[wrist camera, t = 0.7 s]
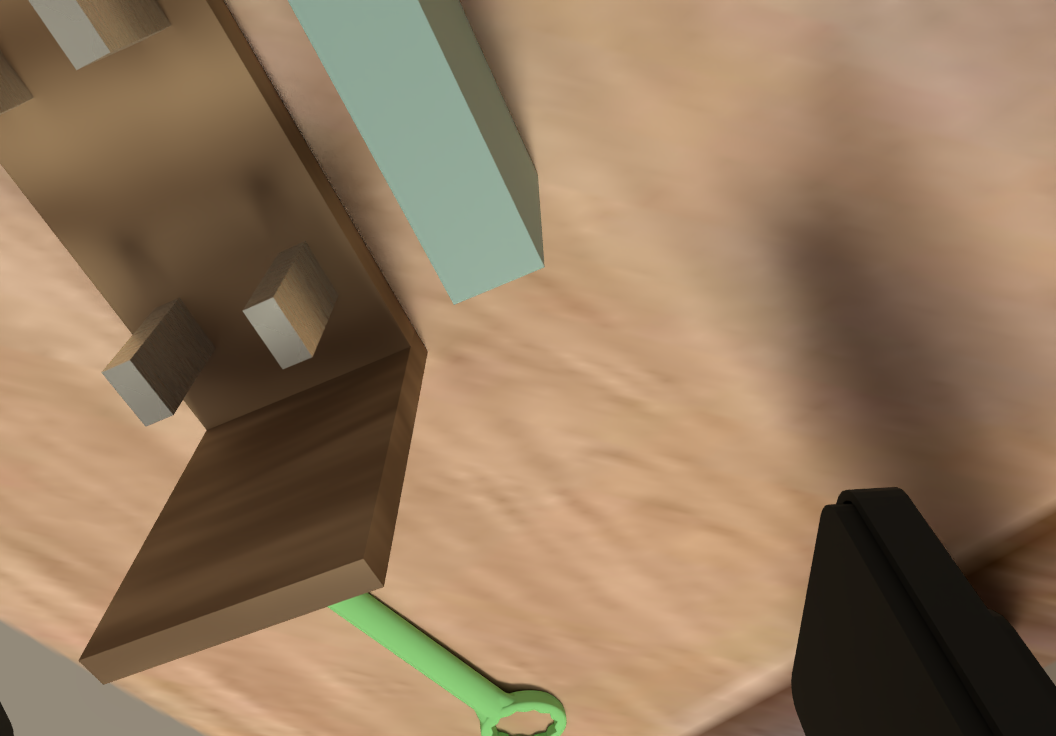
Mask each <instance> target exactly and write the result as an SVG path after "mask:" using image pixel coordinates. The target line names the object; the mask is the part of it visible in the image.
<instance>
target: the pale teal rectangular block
mask: <svg viewBox="0 0 1056 736" xmlns="http://www.w3.org/2000/svg"><path fill="white" fill-rule="evenodd" d="M288 2H289V3H290V5H291V7H292V9H293V11H294V13H295V14H296V16H297V18H298V20H299V22H300V24H301V25H302V27H303V29H304V31H305V33H306V35H307V36H308V38H309V40H310V42H311V44H312V46H313V47H314V49H315V51H316V53H317V55H318V57H319V58H320V60H321V62H322V64H323V66H324V68H325V69H326V71H327V73H328V75H329V77H330V79H331V80H332V82H333V84H334V86H335V88H336V90H337V91H338V93H339V95H340V97H341V99H342V101H343V102H344V104H345V106H346V108H347V110H348V112H349V113H350V115H351V117H352V119H353V121H354V123H355V124H356V126H357V128H358V130H359V132H360V134H361V135H362V137H363V139H364V141H365V143H366V145H367V146H368V148H369V150H370V152H371V154H372V156H373V157H374V159H375V161H376V163H377V165H378V167H379V168H380V170H381V172H382V174H383V176H384V178H385V179H386V181H387V183H388V185H389V187H390V188H391V190H392V192H393V194H394V196H395V198H396V199H397V201H398V203H399V205H400V207H401V209H402V210H403V212H404V214H405V216H406V218H407V220H408V221H409V223H410V225H411V227H412V229H413V231H414V232H415V234H416V236H417V238H418V240H419V242H420V243H421V245H422V247H423V249H424V251H425V253H426V254H427V256H428V258H429V260H430V262H431V264H432V265H433V267H434V269H435V271H436V273H437V275H438V276H439V278H440V280H441V282H442V284H443V286H444V287H445V289H446V291H447V293H448V295H449V297H450V298H451V300H452V302H453V304H454V305H455V304H457V303H460V302H462V301H464V300H467V299H469V298H472V297H474V296H476V295H479V294H481V293H484V292H486V291H488V290H491V289H493V288H496V287H498V286H500V285H503V284H505V283H508V282H510V281H512V280H515V279H517V278H520V277H522V276H524V275H527V274H529V273H532V272H534V271H537V270H539V269H541V268H544V254H543V240H542V226H541V212H540V199H539V185H538V174H537V172H536V170H535V168H534V165H533V163H532V161H531V159H530V157H529V154H528V152H527V150H526V148H525V146H524V143H523V141H522V139H521V137H520V134H519V132H518V130H517V128H516V126H515V123H514V121H513V119H512V117H511V115H510V112H509V110H508V108H507V106H506V103H505V101H504V99H503V97H502V95H501V92H500V90H499V88H498V86H497V83H496V81H495V79H494V77H493V75H492V72H491V70H490V68H489V66H488V64H487V61H486V59H485V57H484V55H483V52H482V50H481V48H480V46H479V44H478V41H477V39H476V37H475V35H474V32H473V30H472V28H471V26H470V24H469V21H468V19H467V17H466V15H465V13H464V10H463V8H462V6H461V4H460V1H459V0H288Z"/></svg>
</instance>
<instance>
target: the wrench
mask: <svg viewBox="0 0 1056 736" xmlns="http://www.w3.org/2000/svg"><path fill="white" fill-rule="evenodd" d="M328 608H330V609H331V610H333V611H334V612H336V613H337V614H338V615H340V616H341V617H343V618H344V619H345V620H347V621H348V622H350V623H351V624H353V625H354V626H355V627H357V628H358V629H360V630H361V631H363V632H364V633H365V634H367V635H368V636H370V637H371V638H373V639H374V640H375V641H377V642H378V643H380V644H381V645H383V646H384V647H385V648H387V649H388V650H390V651H391V652H393V653H394V654H395V655H397V656H398V657H400V658H401V659H403V660H404V661H405V662H407V663H408V664H410V665H411V666H413V667H414V668H415V669H417V670H418V671H420V672H421V673H423V674H424V675H425V676H427V677H428V678H430V679H431V680H433V681H434V682H435V683H437V684H438V685H440V686H441V687H443V688H444V689H445V690H447V691H448V692H450V693H451V694H453V695H454V696H455V697H457V698H458V699H460V700H461V701H463V702H464V703H465V704H467V705H468V706H470V707H471V708H473V709H474V710H475V712H476V714H477V716H478V718H479V720H480V728H481V735H482V736H510V735H508V734H507V733H503V732H498V731H497V729H496V726H495V725H496V724H498V722H499V720H500V718H503V717H507V716H510V715H512V714H513V713H515V712H516V711H519V712H527V711H531V710H536V711H538V712H540V713H550V716H551V718H552V719H554V724H552V725H550V726H549V727H548V729H547V731H546V732H545V733H538V734H536V735H534V736H560V735H561V734H562V732H563V731H564V729H565V727H566V714H565V710H564V708H563V706H562V704H561V703H560V701H559V700H557V699H556V698H555V697H554V696H552V695H550V694H549V693H546V692H543V691H536V690H523V691H517V692H513V693H505V692H504V691H502V690H501V689H500V688H498V687H497V686H496V685H494V684H493V683H491V682H490V681H489V680H487V679H486V678H484V677H483V676H482V675H480V674H479V673H478V672H476V671H475V670H473V669H472V668H471V667H469V666H468V665H467V664H465V663H464V662H462V661H461V660H460V659H458V658H457V657H455V656H454V655H453V654H451V653H450V652H449V651H447V650H446V649H444V648H443V647H442V646H440V645H439V644H438V643H436V642H435V641H433V640H432V639H431V638H429V637H428V636H426V635H425V634H424V633H422V632H421V631H420V630H418V629H417V628H415V627H414V626H413V625H411V624H410V623H409V622H407V621H406V620H404V619H403V618H402V617H400V616H399V615H397V614H396V613H395V612H393V611H392V610H391V609H389V608H388V607H386V606H385V605H384V604H382V603H381V602H380V601H378V600H377V599H375V598H374V597H373V596H371V595H370V594H368V593H365V594H362V595H359V596H356V597H353V598H351V599H348V600H345V601H342V602H339V603H336V604H333V605H330V606H328Z"/></svg>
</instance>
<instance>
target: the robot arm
mask: <svg viewBox="0 0 1056 736" xmlns="http://www.w3.org/2000/svg"><path fill="white" fill-rule="evenodd" d="M791 685H792V695H793V701H794V705H795V709H796V712H797V715H798V717H799V720H800V722H801V725H802V728H803V730H804V733H805V735H806V736H1056V686H1055V685H1054V683H1053V682H1052V680H1051V679H1050V678H1049V676H1048V675H1047V674H1046V672H1045V671H1044V669H1043V668H1042V667H1041V665H1040V664H1039V662H1038V661H1037V660H1036V658H1035V657H1034V655H1033V654H1032V653H1031V651H1030V650H1029V648H1028V647H1027V646H1026V644H1025V643H1024V642H1023V640H1022V639H1021V637H1020V636H1019V635H1018V633H1017V632H1016V630H1015V629H1014V628H1013V627H1012V626H1011V625H1010V623H1009V622H1008V621H1007V620H1006V619H1005V618H1004V617H1003V616H1002V615H1000V614H998V613H997V612H995V611H993V610H991V609H987V607H986V606H985V605H984V603H983V602H982V600H981V599H980V597H979V596H978V595H977V593H976V592H975V590H974V589H973V587H972V586H971V585H970V583H969V582H968V580H967V579H966V577H965V576H964V575H963V573H962V572H961V570H960V569H959V568H958V566H957V565H956V563H955V562H954V560H953V559H952V558H951V556H950V555H949V553H948V552H947V550H946V549H945V548H944V546H943V545H942V543H941V542H940V541H939V539H938V538H937V536H936V535H935V533H934V532H933V531H932V529H931V528H930V526H929V525H928V523H927V522H926V521H925V519H924V518H923V516H922V515H921V513H920V512H919V511H918V509H917V508H916V506H915V505H914V504H913V502H912V501H911V499H910V498H909V496H908V495H907V494H906V493H905V492H904V491H903V490H902V489H900V488H897V487H890V488H872V489H854V490H845V491H842V492H841V494H840V495H839V497H838V500H837V503H836V504H833V505H826V506H825V507H824V508H823V510H822V513H821V517H820V522H819V528H818V533H817V539H816V544H815V550H814V555H813V561H812V566H811V572H810V577H809V583H808V588H807V594H806V599H805V605H804V610H803V616H802V621H801V627H800V633H799V638H798V644H797V649H796V655H795V660H794V666H793V671H792V679H791ZM0 736H14V734H13V728H12V725H11V722H10V720H9V718H8V716H7V714H6V712H5V710H4V708H3V707H2V705H1V702H0Z"/></svg>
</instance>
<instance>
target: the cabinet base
mask: <svg viewBox="0 0 1056 736" xmlns="http://www.w3.org/2000/svg"><path fill="white" fill-rule="evenodd" d="M0 164H1V165H2V166H3V168H4V169H5V170H6V172H7V173H8V174H9V175H10V177H11V178H12V179H13V181H14V182H15V183H16V184H17V186H18V187H19V188H20V190H21V191H22V192H23V194H24V195H25V196H26V197H27V199H28V200H29V201H30V203H31V204H32V205H33V206H34V208H35V209H36V210H37V212H38V213H39V214H40V215H41V217H42V218H43V219H44V221H45V222H46V223H47V224H48V226H49V227H50V228H51V230H52V231H53V232H54V234H55V235H56V236H57V237H58V239H59V240H60V241H61V243H62V244H63V245H64V246H65V248H66V249H67V250H68V252H69V253H70V254H71V255H72V257H73V258H74V259H75V261H76V262H77V263H78V265H79V266H80V267H81V268H82V270H83V271H84V272H85V274H86V275H87V276H88V277H89V279H90V280H91V281H92V283H93V284H94V285H95V286H96V288H97V289H98V290H99V292H100V293H101V294H102V296H103V297H104V298H105V299H106V301H107V302H108V303H109V305H110V306H111V307H112V308H113V310H114V311H115V312H116V314H117V315H118V316H119V317H120V319H121V320H122V321H123V323H124V324H125V325H126V326H127V328H128V329H129V330H130V332H131V333H132V334H133V335H132V336H131V338H130V339H129V340H128V341H127V342H126V344H125V345H124V346H123V347H122V348H121V350H120V351H119V352H118V353H117V354H116V356H115V357H114V358H113V359H112V360H111V362H110V363H109V364H108V365H107V366H106V368H105V369H104V370H103V371H102V372H101V373H102V374H103V375H104V376H105V377H106V379H107V380H108V381H109V382H110V384H111V385H112V386H113V387H114V388H115V390H116V391H117V392H118V393H119V395H120V396H121V397H122V398H123V399H124V401H125V402H126V403H127V404H128V406H129V407H130V408H131V409H132V410H133V412H134V413H135V414H136V415H137V417H138V418H139V419H140V420H141V421H142V423H143V424H144V425H145V426H148V425H151V424H153V423H156V422H158V421H160V420H163V419H165V418H168V417H170V416H172V415H174V413H175V412H176V410H177V408H178V407H179V405H180V404H181V402H182V400H184V401H185V403H186V404H187V405H188V407H189V408H190V409H191V410H192V412H193V413H194V414H195V416H196V417H197V418H198V419H199V421H200V422H201V423H202V425H203V426H204V427H205V428H206V430H207V431H206V432H205V434H204V436H203V438H202V440H201V441H200V443H199V445H198V447H197V449H196V450H195V452H194V454H193V456H192V458H191V459H190V461H189V463H188V465H187V467H186V468H185V470H184V472H183V474H182V476H181V477H180V479H179V481H178V483H177V485H176V486H175V488H174V490H173V492H172V494H171V495H170V497H169V499H168V501H167V503H166V504H165V506H164V508H163V510H162V512H161V513H160V515H159V517H158V519H157V520H156V522H155V524H154V526H153V528H152V529H151V531H150V533H149V535H148V537H147V538H146V540H145V542H144V544H143V546H142V547H141V549H140V551H139V553H138V555H137V556H136V558H135V560H134V562H133V564H132V565H131V567H130V569H129V571H128V573H127V574H126V576H125V578H124V580H123V582H122V583H121V585H120V587H119V589H118V591H117V592H116V594H115V596H114V598H113V600H112V601H111V603H110V605H109V607H108V609H107V610H106V612H105V614H104V616H103V618H102V619H101V621H100V623H99V625H98V627H97V628H96V630H95V632H94V634H93V636H92V637H91V639H90V641H89V643H88V644H87V646H86V648H85V650H84V652H83V653H82V655H81V657H80V659H79V662H80V663H81V664H82V665H83V666H85V667H86V668H87V669H88V670H89V671H90V672H91V673H92V674H93V675H94V676H95V677H96V678H97V679H98V680H99V681H100V682H101V683H102V684H107V683H110V682H113V681H115V680H118V679H121V678H124V677H127V676H130V675H133V674H136V673H138V672H141V671H144V670H147V669H150V668H153V667H156V666H158V665H161V664H164V663H167V662H170V661H173V660H176V659H179V658H181V657H184V656H187V655H190V654H193V653H196V652H199V651H201V650H204V649H207V648H210V647H213V646H216V645H219V644H222V643H224V642H227V641H230V640H233V639H236V638H239V637H242V636H244V635H247V634H250V633H253V632H256V631H259V630H262V629H265V628H267V627H270V626H273V625H276V624H279V623H282V622H285V621H287V620H290V619H293V618H296V617H299V616H302V615H305V614H308V613H310V612H313V611H316V610H319V609H322V608H325V607H328V606H330V605H333V604H336V603H339V602H342V601H345V600H348V599H351V598H353V597H356V596H359V595H362V594H365V593H368V592H371V591H373V590H376V589H379V588H382V587H384V583H385V578H386V573H387V567H388V562H389V556H390V551H391V546H392V540H393V535H394V530H395V524H396V519H397V514H398V508H399V503H400V497H401V492H402V487H403V481H404V476H405V471H406V465H407V460H408V455H409V449H410V444H411V438H412V433H413V428H414V422H415V417H416V412H417V406H418V401H419V396H420V390H421V385H422V379H423V374H424V369H425V363H426V358H427V353H428V352H427V350H426V349H425V347H424V345H423V343H422V342H421V340H420V338H419V336H418V335H417V333H416V331H415V330H414V328H413V326H412V324H411V323H410V321H409V319H408V318H407V316H406V314H405V312H404V311H403V309H402V307H401V306H400V304H399V302H398V300H397V299H396V297H395V295H394V294H393V292H392V290H391V288H390V287H389V285H388V283H387V281H386V280H385V278H384V276H383V275H382V273H381V271H380V269H379V268H378V266H377V264H376V263H375V261H374V259H373V257H372V256H371V254H370V252H369V251H368V249H367V247H366V245H365V244H364V242H363V240H362V238H361V237H360V235H359V233H358V232H357V230H356V228H355V226H354V225H353V223H352V221H351V220H350V218H349V216H348V214H347V213H346V211H345V209H344V208H343V206H342V204H341V202H340V201H339V199H338V197H337V196H336V194H335V192H334V190H333V189H332V187H331V185H330V183H329V182H328V180H327V178H326V177H325V175H324V173H323V171H322V170H321V168H320V166H319V165H318V163H317V161H316V159H315V158H314V156H313V154H312V153H311V151H310V149H309V147H308V146H307V144H306V142H305V140H304V139H303V137H302V135H301V134H300V132H299V130H298V128H297V127H296V125H295V123H294V122H293V120H292V118H291V116H290V115H289V113H288V111H287V110H286V108H285V106H284V104H283V103H282V101H281V99H280V97H279V96H278V94H277V92H276V91H275V89H274V87H273V85H272V84H271V82H270V80H269V79H268V77H267V75H266V73H265V72H264V70H263V68H262V67H261V65H260V63H259V61H258V60H257V58H256V56H255V55H254V53H253V51H252V49H251V48H250V46H249V44H248V42H247V41H246V39H245V37H244V36H243V34H242V32H241V30H240V29H239V27H238V25H237V24H236V22H235V20H234V18H233V17H232V15H231V13H230V12H229V10H228V8H227V6H226V5H225V3H224V1H223V0H0Z"/></svg>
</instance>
